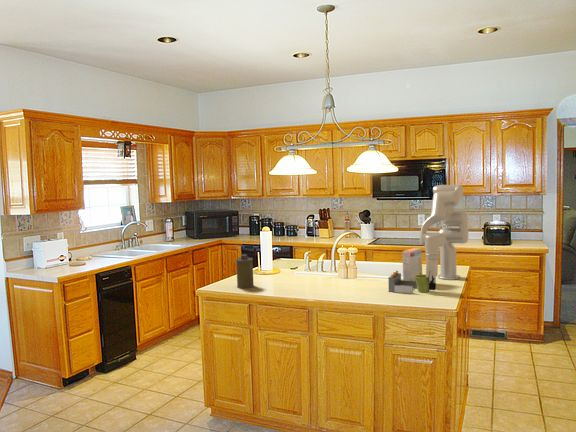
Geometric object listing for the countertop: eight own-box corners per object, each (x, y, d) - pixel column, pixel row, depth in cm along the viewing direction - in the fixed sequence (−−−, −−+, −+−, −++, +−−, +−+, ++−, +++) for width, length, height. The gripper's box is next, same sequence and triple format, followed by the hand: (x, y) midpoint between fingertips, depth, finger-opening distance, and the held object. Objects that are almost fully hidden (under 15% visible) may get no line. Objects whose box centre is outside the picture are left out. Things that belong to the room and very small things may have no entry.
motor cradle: (395, 286, 279) (395, 269, 279) (418, 287, 273) (418, 270, 272) (388, 291, 266) (388, 274, 265) (412, 293, 260) (412, 276, 259)
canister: (250, 288, 286) (249, 256, 285) (234, 288, 289) (233, 256, 287) (256, 284, 297) (254, 253, 295) (240, 284, 299) (239, 253, 298)
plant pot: (429, 293, 258) (428, 278, 257) (412, 292, 263) (411, 277, 262) (434, 290, 266) (433, 274, 265) (417, 289, 271) (417, 274, 270)
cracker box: (413, 281, 291) (413, 247, 289) (422, 282, 287) (422, 248, 285) (402, 285, 281) (401, 250, 279) (411, 286, 277) (411, 251, 275)
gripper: (427, 254, 269) (428, 286, 270) (422, 259, 255) (423, 292, 257) (441, 255, 265) (441, 287, 267) (436, 259, 252) (437, 293, 253)
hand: (432, 289), depth 262 cm, fingers closed
